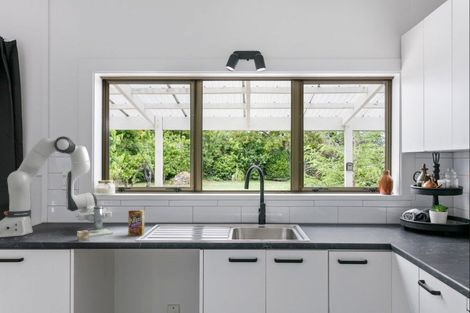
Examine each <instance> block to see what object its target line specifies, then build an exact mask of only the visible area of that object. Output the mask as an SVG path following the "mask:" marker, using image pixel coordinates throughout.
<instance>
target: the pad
mask: <svg viewBox="0 0 470 313" xmlns="http://www.w3.org/2000/svg"><path fill="white" fill-rule="evenodd" d="M88 231H89V238H92V237H99V236H107V235H113V234H114V232H113V231H111V230H109V229H107V228H103V229H101V230H94V229H92V230H88Z"/></svg>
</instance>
